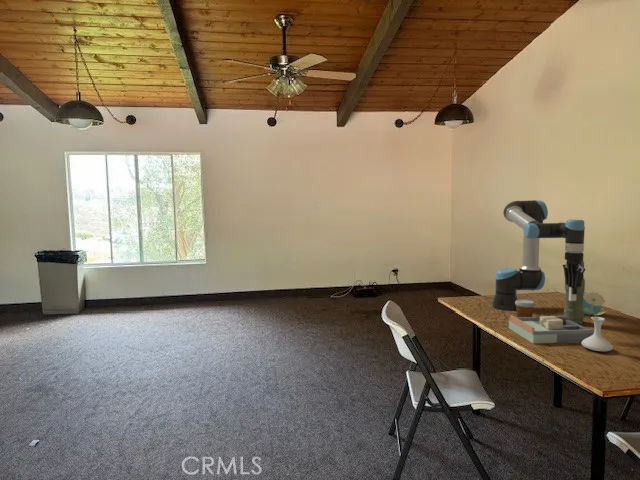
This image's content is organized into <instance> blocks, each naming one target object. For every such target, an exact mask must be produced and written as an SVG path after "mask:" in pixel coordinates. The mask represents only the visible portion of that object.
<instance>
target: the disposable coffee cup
mask: <svg viewBox="0 0 640 480" xmlns="http://www.w3.org/2000/svg"><path fill="white" fill-rule="evenodd" d="M517 299H518V298H517ZM515 304H516V317H533V315H534V308H535V306H536V304H535V301H533V300H532V299H527V298H526V299H524V298H522V299H521V298H519V299H518V300H516V302H515Z"/></svg>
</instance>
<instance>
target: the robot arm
mask: <svg viewBox="0 0 640 480" xmlns="http://www.w3.org/2000/svg"><path fill="white" fill-rule="evenodd" d="M548 215H549V211H548V207H547V205H546V203H545V202H544V201H543V200H539V199H538V200H537V199H535V200H532V199H531V200H514V201H511V202H509V203H507V204H506V205H505V206H504V209H503V217H504V218H505V220H507V221H508V222H510V223H514V224H515V225H517V226H518V227H519V228H521V229H522V232H523V233H522V234H523V237H522V241H523V242H522V264H521V266H519V269H518V270H517V268H513V267H512V268H509V267H507V268H501V269H498V270H497V271H496V272H495V293H494V296H493V299H492V302H491V306H492V307H493V308H495V309H498V310H506V311H514V310H516V304H515V302H516V300H518V296H517V291H532V292H533V291H540V290H541V289H542V288H543V287H544V286H545V284H546V275H545V271H543V270H542V268H541V267H540V265H539V263H540V261H539V260H540V258H539V257H540V239H561V238H562V239H564V240H565V242H564V244H565V245H564V246H565V247H564V251H565V252H564V260H565V261H566V263H565V264H562V268H563V271H564V272H563V273H564V275H563V276H564V284H565V283H566V285H568V286H569V300H570V301H576V294H577V288H578V287H581V283H582V278H583V275H584V273H585V271H586V267H584V268H582V267H581V261H582V260H583V261H584V249H585V244H584V243H585V229H586V226H585V221H584V220H583V219H567V220H566V221H565V222H564V221H561V222H549V223H548V222H546V223H545V222H544V221H545V220H547V218H548ZM516 311H517V310H516Z"/></svg>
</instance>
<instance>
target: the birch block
mask: <svg viewBox="0 0 640 480" xmlns="http://www.w3.org/2000/svg"><path fill="white" fill-rule="evenodd" d="M555 316H556V315H555ZM555 316H554V315H548V316H546V315H545V316H544V315H543V316H539V317H540V325H542V326H544V327H545V328H547V329H563V320H561V319H559V318H557V317H555Z"/></svg>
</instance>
